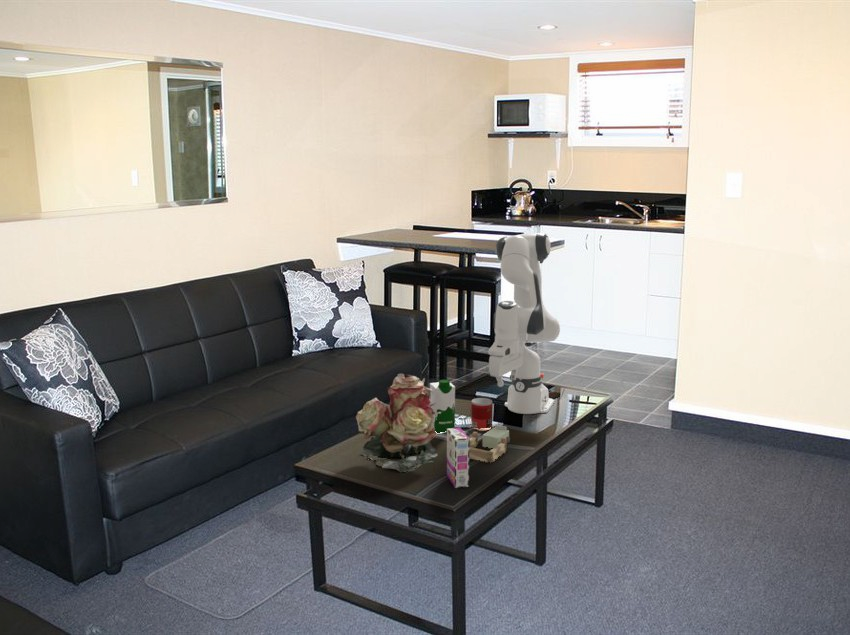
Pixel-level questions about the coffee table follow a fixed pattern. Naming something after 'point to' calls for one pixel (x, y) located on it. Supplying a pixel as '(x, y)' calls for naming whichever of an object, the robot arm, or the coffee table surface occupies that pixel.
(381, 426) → the rose bouquet
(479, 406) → the canned food
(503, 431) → the pale green box
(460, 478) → the candy bar box
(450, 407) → the milk carton
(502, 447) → the frame
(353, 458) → the coffee table surface
